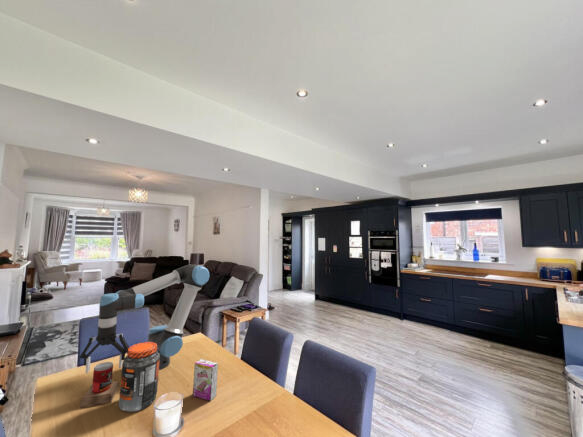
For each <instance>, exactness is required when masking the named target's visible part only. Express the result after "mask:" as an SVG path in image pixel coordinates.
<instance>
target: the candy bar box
mask: <svg viewBox="0 0 583 437" xmlns="http://www.w3.org/2000/svg"><path fill="white" fill-rule="evenodd" d="M218 368H219V362H215V361H211V360H206V359H203V358H200V359H198V360H197V361H195V362H194V368H193V369H194V371H193V384H192V386H193V388H192V397H196V398H198V399H202V400H204V399H205V401H208V400H210V401H209V402H211V401H213V400H214V399H215V398H216V397H217V389H218V388H217V386H218ZM215 396H216V397H215ZM214 397H215V398H214Z"/></svg>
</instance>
